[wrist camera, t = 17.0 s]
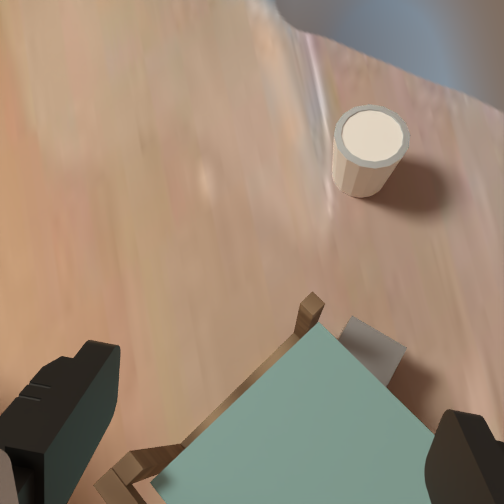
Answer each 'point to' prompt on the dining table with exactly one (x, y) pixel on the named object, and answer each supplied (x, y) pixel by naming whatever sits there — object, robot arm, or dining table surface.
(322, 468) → the trapdoor
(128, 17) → the dining table surface
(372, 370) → the granite block
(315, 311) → the frame
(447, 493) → the robot arm
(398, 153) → the white cup
